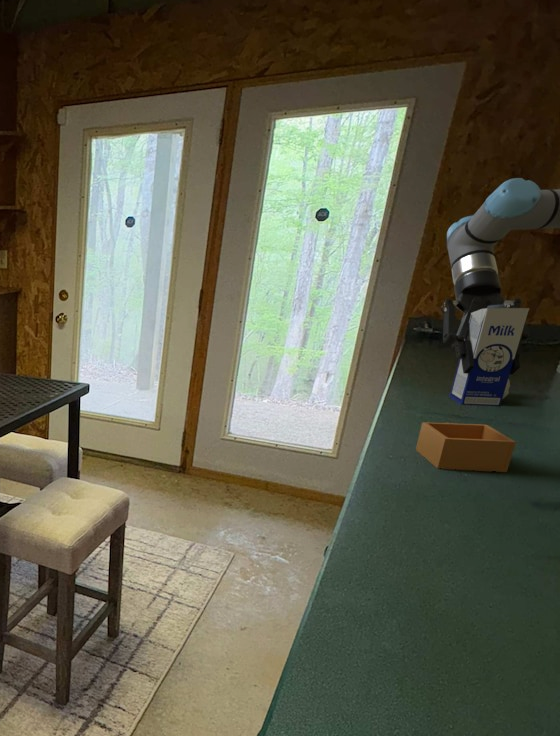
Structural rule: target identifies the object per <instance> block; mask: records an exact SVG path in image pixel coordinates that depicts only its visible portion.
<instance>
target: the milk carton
mask: <svg viewBox="0 0 560 736" xmlns="http://www.w3.org/2000/svg"><path fill="white" fill-rule="evenodd" d="M529 311H530V307H525V308H524V307H520V308H505V305H490V306H487V308H486V309H480V310H478V311H475V312H472V313H471V317H470V320H469V326H470V327H469V330H468V333H467V335H466V338H465V339H464V341H465V340H470V342H471V348H472V354H473V360H474V367H473V368H472V369H471V371H470V372H469V373H468V374H466V373H463V367H462V361H461V358H458V363H457V366H456V370H455V374H454V378H453V381H452V385H451V389H450V393H449V398H450V399H451V400H453V401H455V402H456V403H457V404H458V405H461V406H479V407H482V406H483V407H501V404H502V401H503V399H502V398H503V395H504V391H505V388H506V385H507V381H508V379H509V377H510V375H511V374H510V371H511V368H512V364H513V361H514V358H515V354H516V351H517V348H518V344H519V341H520V337H521V334H522V331H523V327H524V324H525V321H526V322H527V316H528V313H529Z"/></svg>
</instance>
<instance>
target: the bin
mask: <svg viewBox="0 0 560 736" xmlns="http://www.w3.org/2000/svg"><path fill="white" fill-rule="evenodd" d="M516 443H517V441H515V440H514V439H512V438H510V437H508V436H507V435H505V434H504V433H502V432H500V431H498V430H497V429H495V428H493V427H492V426H490V425H488V424H480V423H477V424H476V423H453V422H429V421H428V422H425V421H422V422H421V426H420V431H419V434H418V438H417V444H416V447H415V451H416V452H417V453H418V454H419V455H420V456H422V457H423V458H424V457H425V458H424V459H426V460H427V461H428V462H429V463H430V464H431V465H432V466H434V467H435V468H436V469H438V468H439V470H441V469H442V470H455V469H456V470H455V471H473V470H474V472H475V471H476V472H492V471H496V472H495V473H507V472H508V470H509V467H510V463H511V461H512V460H511V459H512V456H513V453H514V450H515V447H516ZM440 468H441V469H440Z"/></svg>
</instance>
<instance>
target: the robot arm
mask: <svg viewBox="0 0 560 736" xmlns="http://www.w3.org/2000/svg"><path fill="white" fill-rule="evenodd" d="M539 229H540V230H541V229H544V230H545V229H560V188H559V189H541V188H540V186H538V184H537V183H536V182H534V181H533V180H529V179H528V180H526V179H524V178H522V177H515V178H509V179H508V180H505V181H504V182H502V183H501V184H500V185H499V186H498V187H497V188H496V189H495V190H493V192H492V193H491V194H489V195H488V197H486V199H485V201H484V202H483V203H482V205H480V207H479V208H478V209H477V211H476V212H475V213H474V214H472V215H468V216H464V217H462V218H460V219H459V220H458V221H457V222H456V221H455V222H453V223H452V224H451V225H450V227H448V230H447V232H446V249H447V251H448V253H447V254H448V258H449V263H450V269H451V275H452V283H453V285H454V287H453V289H454V295H455V300H452V299H451V298H447V299H445V301H444V302H443V303H442V305H441V306H440V310H441V311H440V312H441V313H442V314H443V319H442V320H443V321H442V322H443V323H442V343H443V344H445V345H447V344H451V346H450V347H451V348H452V349H454V350H455V356H456V358H457V359H459V358H461V361H462V367H463V373H466V374H468V373H469V372H470V371H471V369H472V368H473V367H474V360H473V354H472V348H471V342H470V340H465V341H464V339H465V338H466V335H467V333H468V330H469V327H470V326H469V320H470V317H471V313H472V312H475V311H478V310H480V309H486V308H487V306H490V305H505V308H522V307H521V306H522V299H520V298H514V300H508V299H505V297H504V296H503V295H502V286H501V281H500V280H501V279H500V275H499V270H498V265H497V261H496V255H495V249H494V248H495V246H496V245H497V244H498V243H499V242H501V240H502V239H503V238H504V237H506V235H507V234H508V233H510V232H511V231H517V230H518V231H519V230H520V231H521V230H539ZM456 309H458V310H459V311H460V312H461V313H463V315H462V317H461V320H460V324H459V327H458V329H457V332H456V312H457V311H456ZM531 337H532V334H531V332H530V329H529V326H528V324H527V320H526V321H525V324H524V327H523V331H522V334H521V337H520V341H519V344H518V348H517V351H516V354H515V358H514V361H513V364H512V368H511V371H510V375H514V374H515V373H516V372H517V371H518V370H519V369H520V368H521V363H520V357H521V356H522V354H523V350H522V345H523V344H525V343H526V342H527V341H528V340H529V339H530V338H531Z"/></svg>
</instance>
